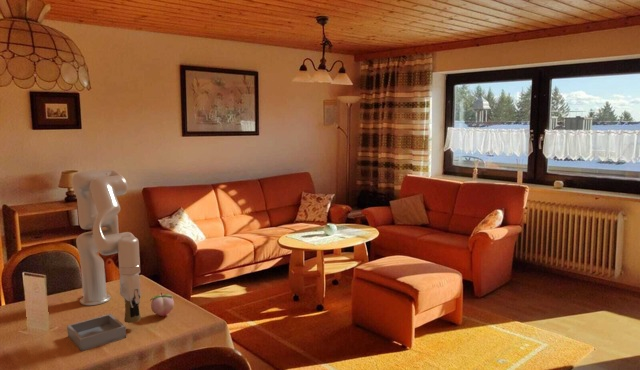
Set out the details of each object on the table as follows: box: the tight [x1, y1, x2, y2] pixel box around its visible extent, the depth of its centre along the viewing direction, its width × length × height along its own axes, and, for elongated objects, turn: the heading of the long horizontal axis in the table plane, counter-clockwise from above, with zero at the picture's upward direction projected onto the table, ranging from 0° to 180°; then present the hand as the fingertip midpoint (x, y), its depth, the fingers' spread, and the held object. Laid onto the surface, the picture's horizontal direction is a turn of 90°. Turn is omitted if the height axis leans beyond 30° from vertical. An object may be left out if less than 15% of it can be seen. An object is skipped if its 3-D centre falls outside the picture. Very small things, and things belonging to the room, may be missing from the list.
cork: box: [123, 297, 142, 324], centre depth 195 cm, size 6×6×11 cm
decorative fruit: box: [150, 292, 175, 317], centre depth 208 cm, size 9×8×10 cm
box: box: [66, 313, 127, 352], centre depth 189 cm, size 16×16×4 cm
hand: (132, 313), depth 196 cm, fingers closed on cork, 4 cm apart
